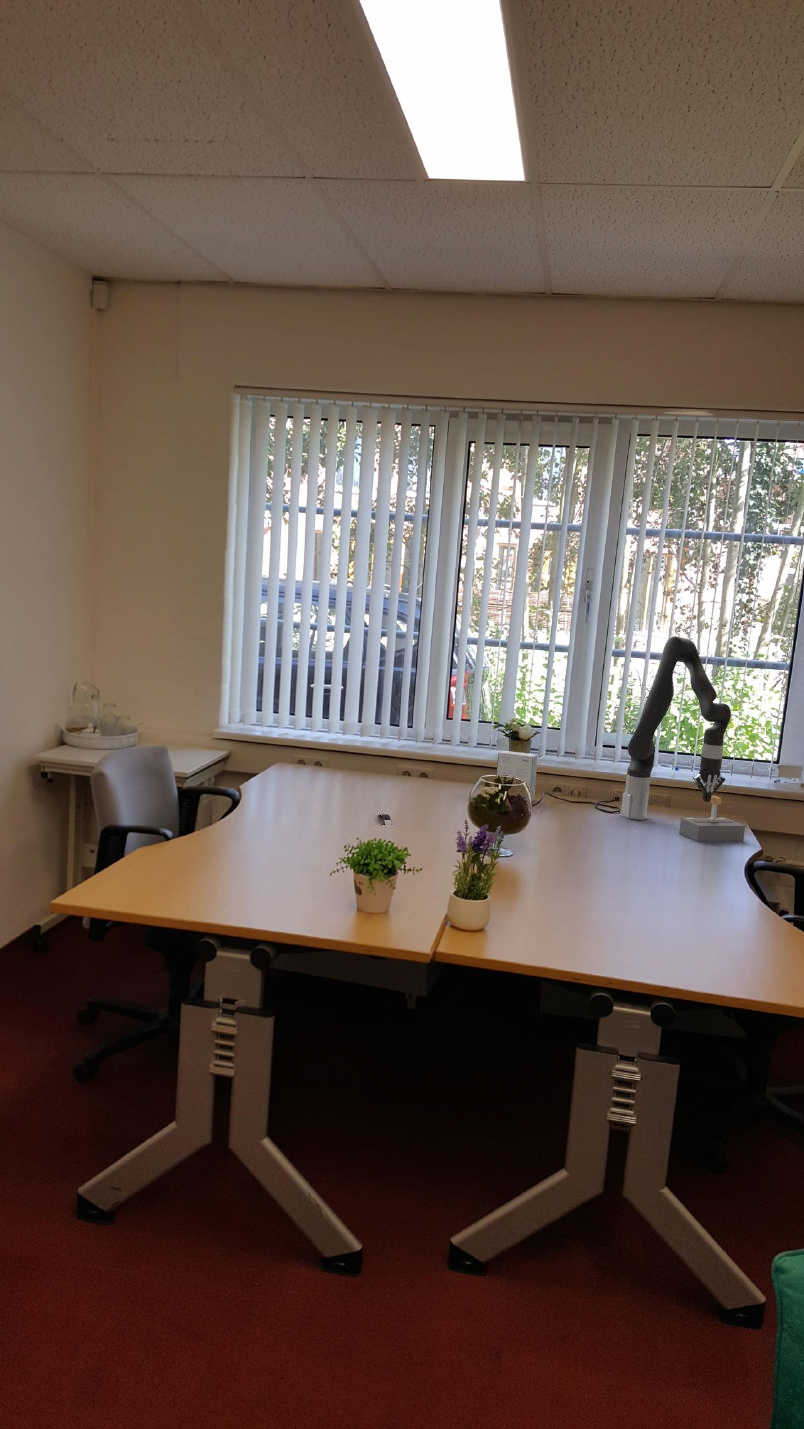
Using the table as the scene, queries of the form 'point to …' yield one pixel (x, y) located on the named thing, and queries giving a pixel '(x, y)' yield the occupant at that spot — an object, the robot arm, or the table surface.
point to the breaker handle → (714, 808)
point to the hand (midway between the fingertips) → (706, 801)
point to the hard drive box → (518, 767)
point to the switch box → (712, 830)
